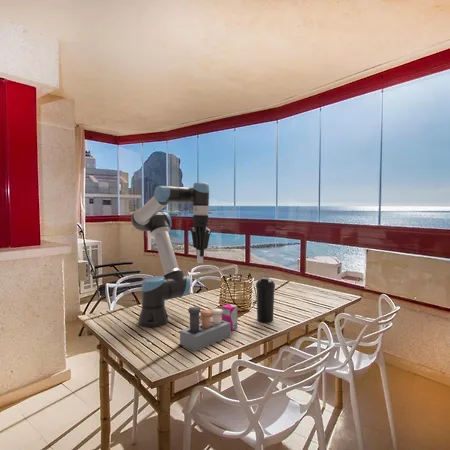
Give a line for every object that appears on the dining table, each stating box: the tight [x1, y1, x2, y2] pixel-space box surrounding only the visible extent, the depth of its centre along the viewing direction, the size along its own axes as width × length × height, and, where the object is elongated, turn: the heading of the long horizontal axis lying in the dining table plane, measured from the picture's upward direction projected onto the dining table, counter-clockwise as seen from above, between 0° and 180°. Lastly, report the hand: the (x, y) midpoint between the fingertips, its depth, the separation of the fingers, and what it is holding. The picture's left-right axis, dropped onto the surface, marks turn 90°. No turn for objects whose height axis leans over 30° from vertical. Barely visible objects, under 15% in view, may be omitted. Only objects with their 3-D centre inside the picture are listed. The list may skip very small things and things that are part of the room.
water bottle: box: [255, 275, 276, 324], centre depth 158 cm, size 10×10×23 cm
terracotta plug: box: [199, 309, 213, 330], centre depth 132 cm, size 5×5×9 cm
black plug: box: [187, 306, 202, 332], centre depth 127 cm, size 5×5×9 cm
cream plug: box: [211, 307, 223, 325], centre depth 138 cm, size 5×5×9 cm
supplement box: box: [221, 303, 238, 332], centre depth 146 cm, size 6×6×12 cm
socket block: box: [179, 318, 232, 352], centre depth 133 cm, size 10×22×6 cm, turn 137°
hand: (200, 262), depth 144 cm, fingers closed
